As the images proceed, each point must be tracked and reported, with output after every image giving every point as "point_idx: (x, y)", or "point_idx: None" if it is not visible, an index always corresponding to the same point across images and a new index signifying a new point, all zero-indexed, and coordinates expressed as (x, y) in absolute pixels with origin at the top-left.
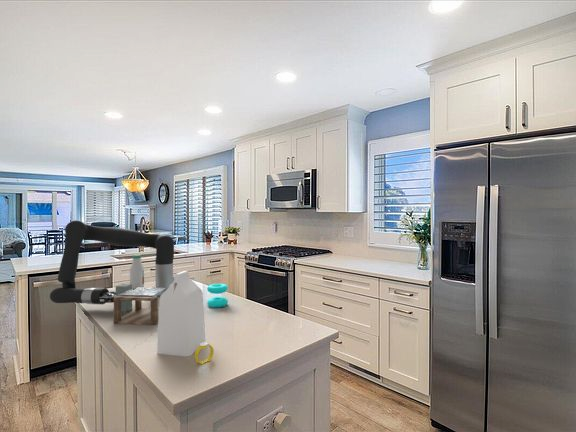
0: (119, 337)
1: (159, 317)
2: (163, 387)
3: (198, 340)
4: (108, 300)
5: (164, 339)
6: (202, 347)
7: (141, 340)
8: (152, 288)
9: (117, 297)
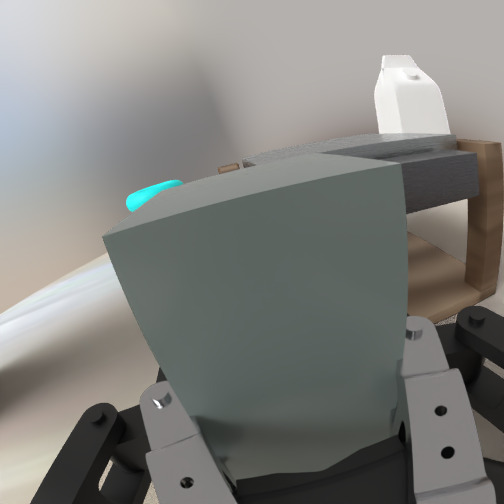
0: None
1: (446, 120)
2: None
3: None
4: (501, 403)
5: None
6: None
7: (461, 200)
8: (268, 155)
9: (484, 141)
